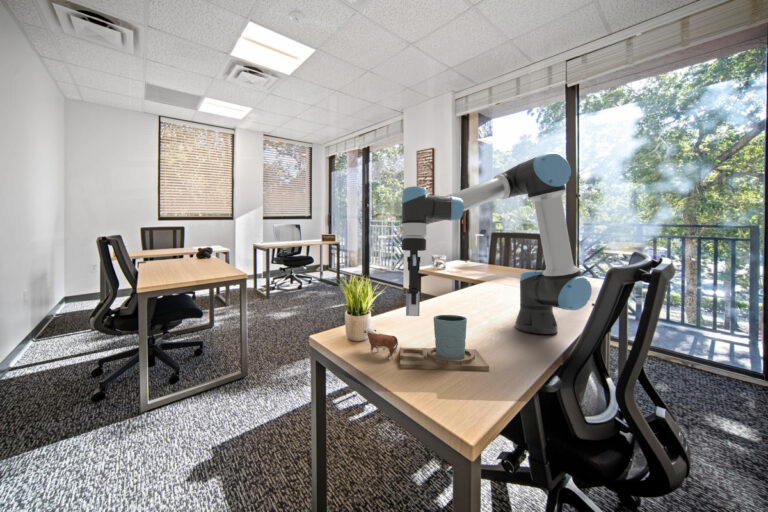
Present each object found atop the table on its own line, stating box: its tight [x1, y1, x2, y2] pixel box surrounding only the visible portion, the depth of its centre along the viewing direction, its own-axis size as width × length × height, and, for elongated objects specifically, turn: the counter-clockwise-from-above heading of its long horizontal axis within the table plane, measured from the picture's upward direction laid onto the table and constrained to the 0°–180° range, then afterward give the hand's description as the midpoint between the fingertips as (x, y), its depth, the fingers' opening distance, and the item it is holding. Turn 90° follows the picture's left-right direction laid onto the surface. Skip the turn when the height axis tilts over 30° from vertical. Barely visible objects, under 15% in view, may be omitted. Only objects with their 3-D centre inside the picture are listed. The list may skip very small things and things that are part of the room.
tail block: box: [405, 290, 421, 317], centre depth 98 cm, size 4×4×7 cm
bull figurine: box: [363, 327, 399, 361], centre depth 102 cm, size 4×13×8 cm, turn 51°
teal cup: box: [433, 314, 468, 360], centre depth 98 cm, size 10×10×12 cm
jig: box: [399, 346, 490, 372], centre depth 98 cm, size 25×16×2 cm, turn 87°
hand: (413, 313), depth 98 cm, fingers closed on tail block, 4 cm apart
